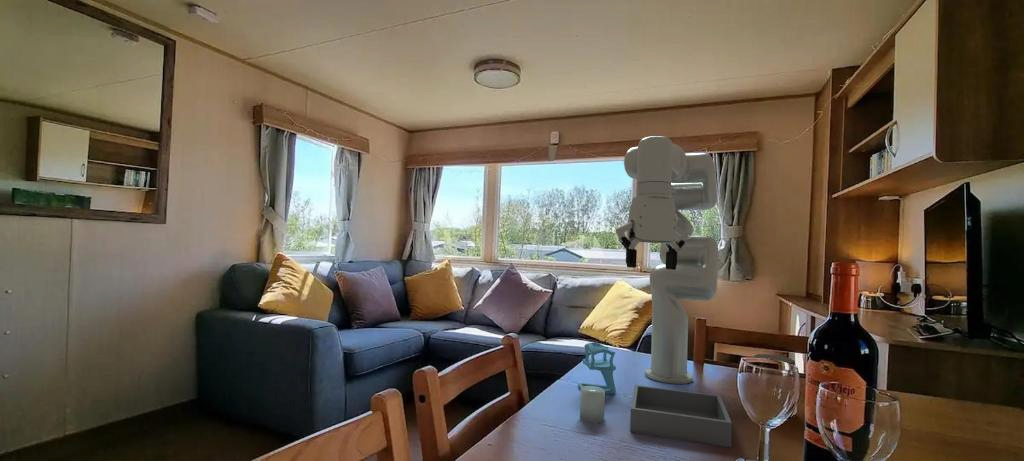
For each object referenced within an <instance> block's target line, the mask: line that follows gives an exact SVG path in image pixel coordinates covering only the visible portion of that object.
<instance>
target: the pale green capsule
mask: <svg viewBox="0 0 1024 461" xmlns="http://www.w3.org/2000/svg"><path fill="white" fill-rule="evenodd" d="M605 396H606V394H605V390H604V389H603V388H600V387H597V386H583V387H581V390H580V396H579V397H580V398H579V399H580V401H579V404H580V406H579V418H580V420H581V421H583V422H585V423H590V424H601V423H603V422H604V421H605Z"/></svg>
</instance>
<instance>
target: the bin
mask: <svg viewBox="0 0 1024 461" xmlns="http://www.w3.org/2000/svg"><path fill="white" fill-rule="evenodd" d="M632 393H633V394H632V399H631V405H630V421H629V423H630V427H629V432H630V433H635V434H641V435H642V434H643V435H647V436H648V435H649V436H656V437H661V438H667V439H674V440H681V441H686V442H692V443H699V444H704V445H705V444H706V445H713V446H719V447H726V448H732V435H733V434H732V432H733V430H732V428H733V424H732V423H733V422H732V420H731V418H730V415H729V413H728V411H727V408H726V406H725V403H724V401H723V399H722V397H721V395H720V394H711V393H705V392H704V393H703V392H695V391H686V390H678V389H673V388H672V389H671V388H665V387H664V388H663V387H658V386H657V387H656V386H649V385H639V384H634V387H633V392H632Z"/></svg>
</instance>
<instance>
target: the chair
mask: <svg viewBox="0 0 1024 461" xmlns="http://www.w3.org/2000/svg"><path fill="white" fill-rule="evenodd" d="M584 351H585V358H583V359H582V364H584V365H585V366H586V367H587V368H588V369H589V370H590V371H600V373H601V375H602V377H603V379H604V382H605V384H595V383H586V382H578V383H577V387H578V388H579V390H580V391H581V387H583V386H597V387H600V388H603V389H604V390H605V395H613V394H617V389H616V386H615V381H614V380H615V379H614V372H615V371H616V370H617V368H616V367H617V365H615V364H614V363H613V362H614V357H615V354H616V351H612V350H610V349H609V346H604V345H603V344H602V343H600V342H594V341H593V342H588V343H586V344H585V345H584ZM589 353H590V354H589ZM601 353H603V355H602V359H595V356H597V355H598V354H601ZM607 354H608V355H610V357H609V359H607ZM590 357H591V359H590Z"/></svg>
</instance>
